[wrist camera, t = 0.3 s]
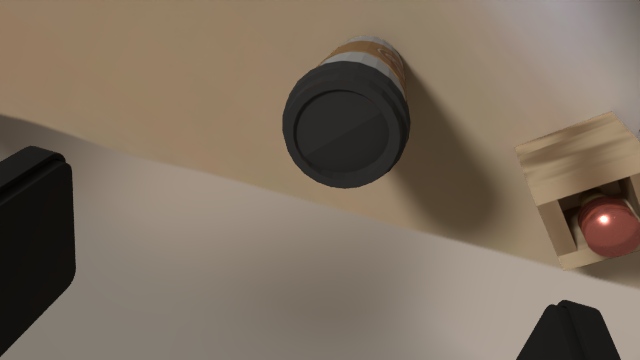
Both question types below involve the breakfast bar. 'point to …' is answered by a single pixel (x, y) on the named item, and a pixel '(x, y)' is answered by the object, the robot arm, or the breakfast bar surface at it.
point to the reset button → (607, 223)
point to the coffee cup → (349, 115)
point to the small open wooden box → (580, 179)
